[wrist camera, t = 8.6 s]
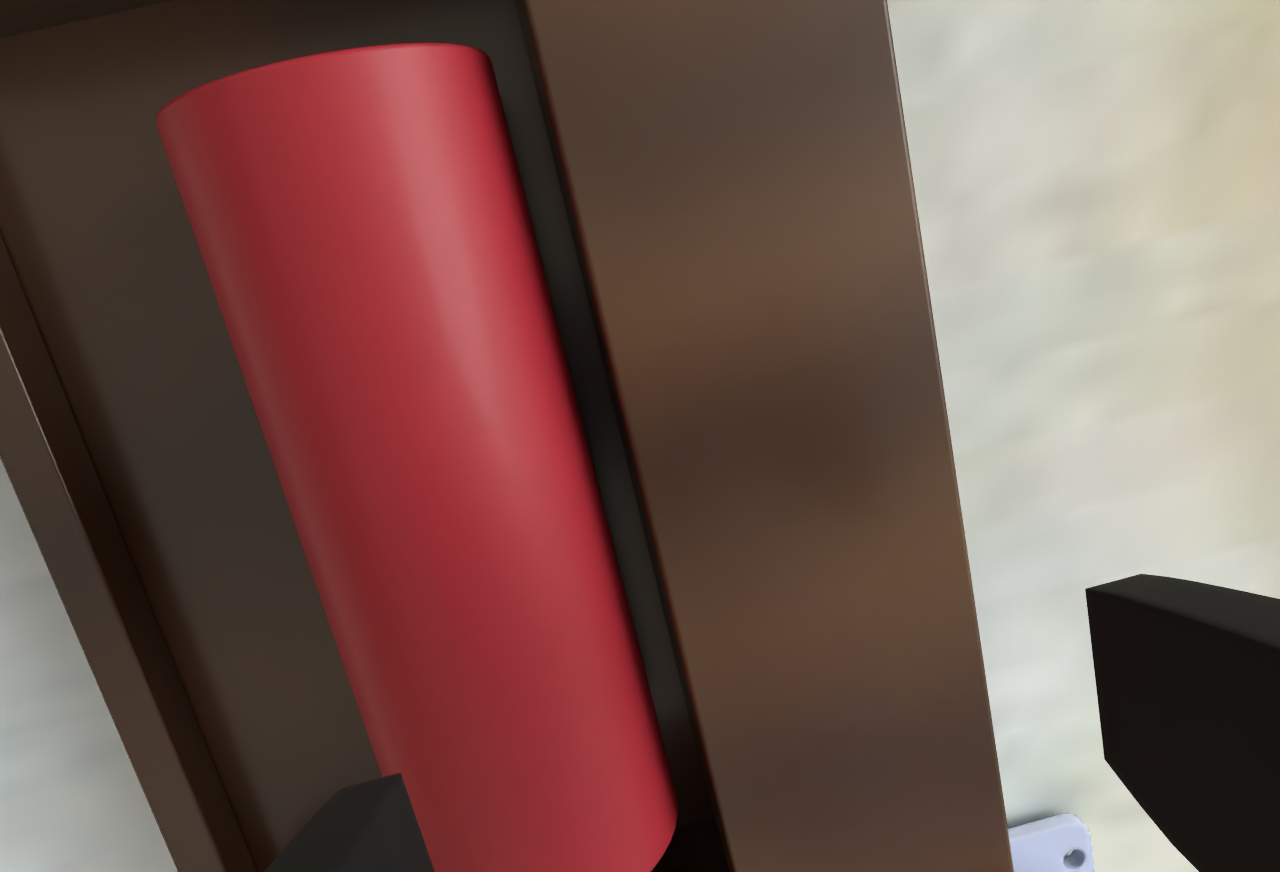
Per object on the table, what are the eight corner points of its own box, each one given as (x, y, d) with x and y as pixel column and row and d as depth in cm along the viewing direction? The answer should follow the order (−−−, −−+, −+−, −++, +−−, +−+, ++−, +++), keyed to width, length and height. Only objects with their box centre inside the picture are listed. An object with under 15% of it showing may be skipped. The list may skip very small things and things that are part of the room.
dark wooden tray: (894, 737, 20) (1039, 945, 14) (286, 902, 19) (173, 1194, 13) (739, -136, 15) (855, -359, 10) (-57, 38, 15) (-447, -90, 9)
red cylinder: (431, 792, 17) (654, 726, 17) (408, 980, 12) (706, 886, 13) (217, 144, 14) (491, 84, 14) (89, 98, 9) (488, 15, 10)
